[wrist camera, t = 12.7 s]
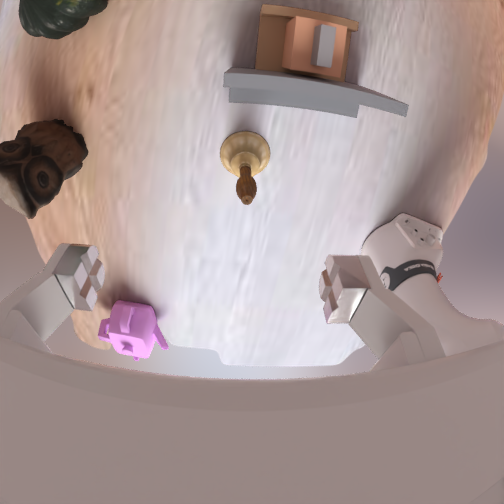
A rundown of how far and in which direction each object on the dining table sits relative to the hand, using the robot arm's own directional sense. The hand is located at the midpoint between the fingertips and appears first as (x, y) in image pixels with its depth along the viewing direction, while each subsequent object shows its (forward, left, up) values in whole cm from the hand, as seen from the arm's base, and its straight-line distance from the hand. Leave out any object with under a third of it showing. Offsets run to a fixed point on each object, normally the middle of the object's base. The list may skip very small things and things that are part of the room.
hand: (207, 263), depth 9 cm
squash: (+27, -21, -37) cm, 51 cm away
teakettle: (+26, +58, -37) cm, 74 cm away
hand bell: (-2, +10, -37) cm, 39 cm away
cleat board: (-9, -7, -37) cm, 39 cm away
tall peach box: (-9, -9, -34) cm, 36 cm away
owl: (+34, +7, -37) cm, 51 cm away
